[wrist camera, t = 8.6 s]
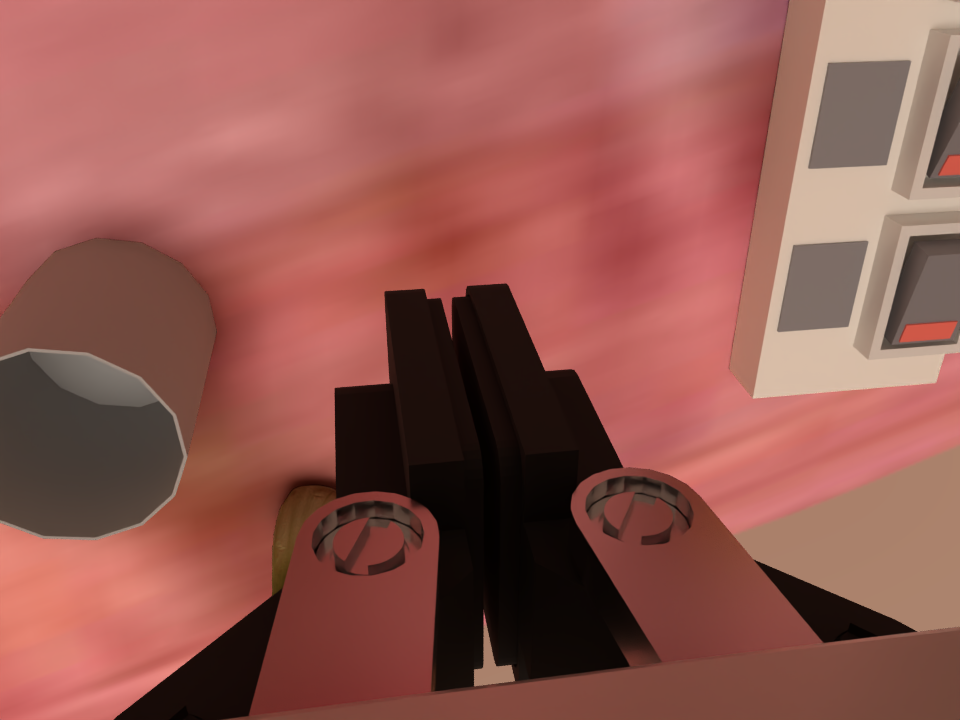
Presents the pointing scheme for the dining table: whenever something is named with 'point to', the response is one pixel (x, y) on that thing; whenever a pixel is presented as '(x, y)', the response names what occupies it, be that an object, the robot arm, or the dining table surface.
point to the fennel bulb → (294, 526)
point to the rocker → (927, 295)
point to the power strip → (847, 197)
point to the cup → (99, 389)
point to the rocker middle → (947, 140)
